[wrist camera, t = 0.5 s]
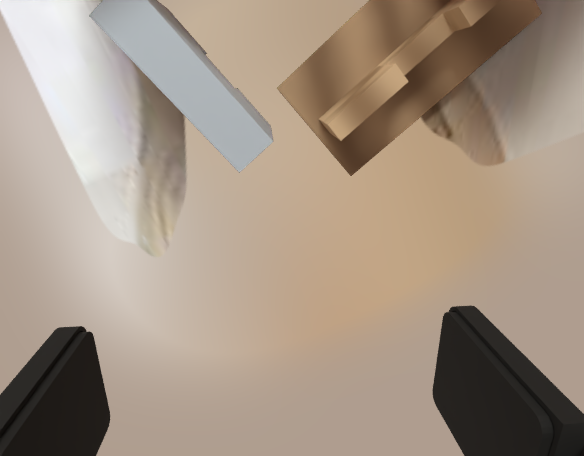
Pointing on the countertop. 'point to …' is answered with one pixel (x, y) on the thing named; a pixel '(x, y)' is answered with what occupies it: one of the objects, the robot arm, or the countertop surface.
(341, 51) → the slotted wall
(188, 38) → the grey flat block
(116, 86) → the countertop surface
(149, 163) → the countertop surface
